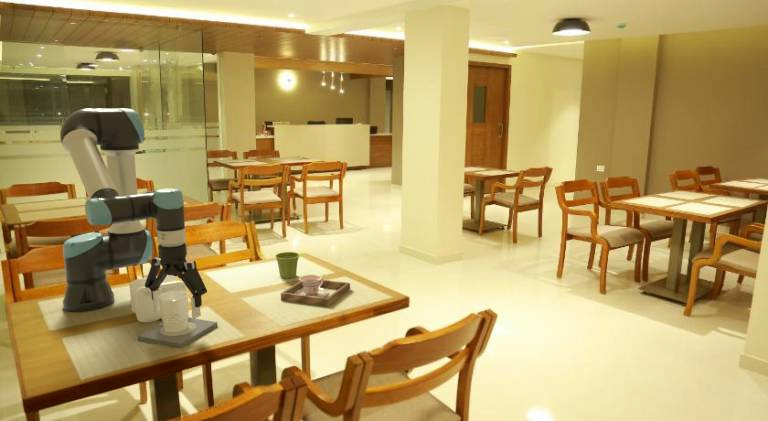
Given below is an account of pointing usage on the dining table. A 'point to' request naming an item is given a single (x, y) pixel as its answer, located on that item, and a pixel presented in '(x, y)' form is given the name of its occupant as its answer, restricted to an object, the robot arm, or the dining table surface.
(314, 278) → the teacup
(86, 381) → the dining table surface
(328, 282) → the teacup tray rim
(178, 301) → the white cup
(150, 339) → the slate mat
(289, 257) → the plant pot
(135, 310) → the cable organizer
